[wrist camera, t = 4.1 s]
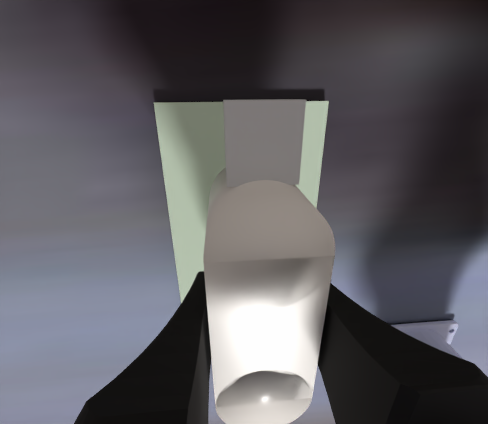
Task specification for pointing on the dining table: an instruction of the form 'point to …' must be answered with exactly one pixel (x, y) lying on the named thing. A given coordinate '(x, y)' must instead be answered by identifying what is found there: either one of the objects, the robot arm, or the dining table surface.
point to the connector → (264, 267)
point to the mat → (213, 171)
